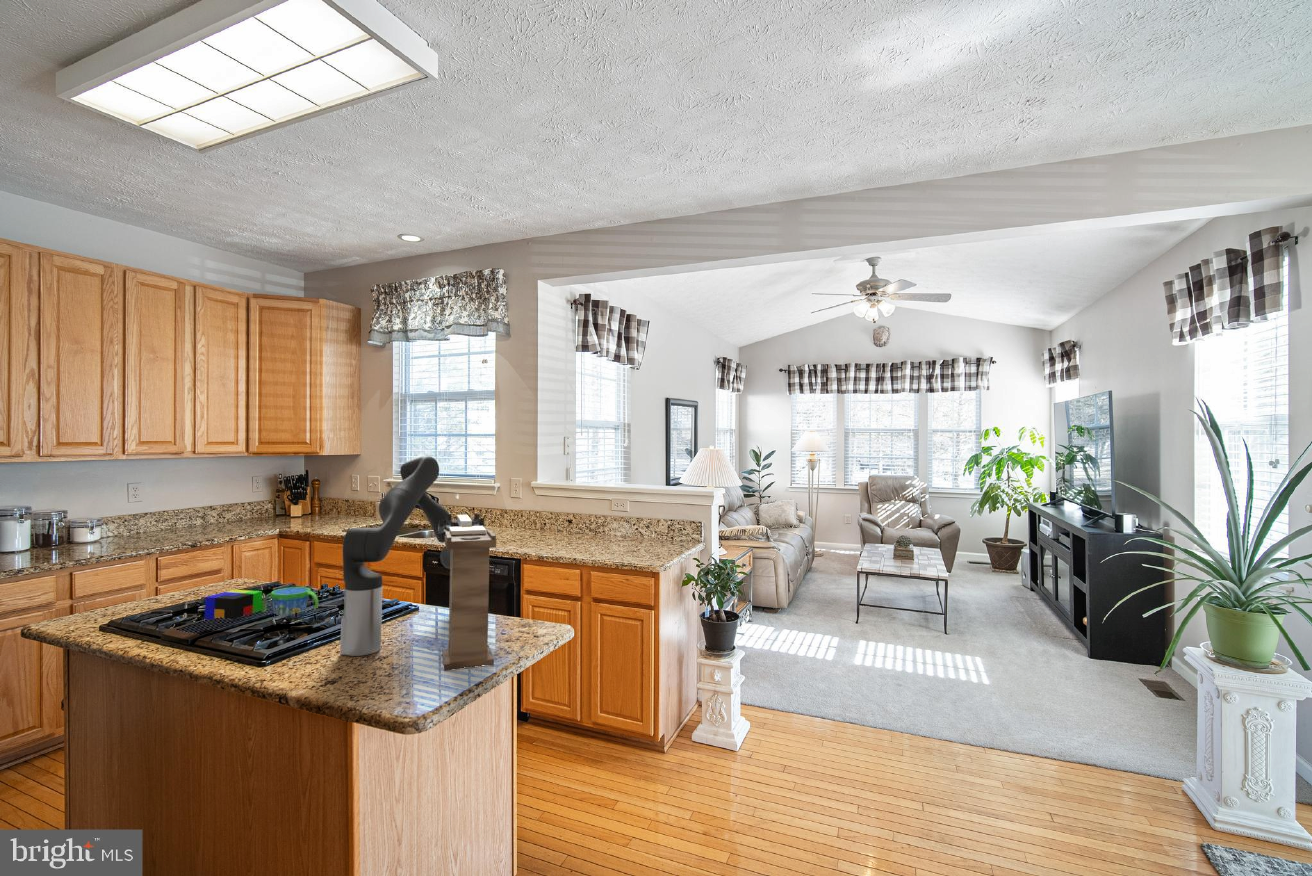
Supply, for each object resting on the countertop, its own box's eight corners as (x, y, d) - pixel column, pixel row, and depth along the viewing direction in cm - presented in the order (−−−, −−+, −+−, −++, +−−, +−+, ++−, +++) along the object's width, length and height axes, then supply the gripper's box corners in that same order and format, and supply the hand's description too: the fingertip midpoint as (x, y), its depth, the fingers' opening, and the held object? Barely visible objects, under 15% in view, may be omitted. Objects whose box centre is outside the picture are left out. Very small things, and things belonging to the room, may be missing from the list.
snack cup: (323, 618, 192) (324, 586, 192) (307, 627, 181) (308, 594, 181) (273, 618, 190) (274, 586, 191) (253, 628, 180) (254, 594, 180)
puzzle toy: (204, 630, 177) (205, 597, 177) (233, 621, 187) (234, 589, 187) (233, 632, 175) (234, 598, 176) (261, 623, 185) (262, 591, 186)
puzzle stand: (442, 655, 159) (444, 531, 160) (488, 650, 163) (490, 529, 164) (443, 670, 148) (446, 537, 148) (493, 664, 152) (496, 535, 153)
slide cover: (446, 523, 182) (446, 515, 182) (477, 522, 186) (477, 514, 186) (451, 534, 158) (451, 525, 158) (486, 533, 162) (486, 524, 162)
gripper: (436, 526, 192) (438, 505, 179) (482, 525, 197) (487, 504, 184) (436, 548, 188) (438, 528, 175) (483, 546, 193) (488, 526, 180)
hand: (463, 516), depth 180 cm, fingers open, 7 cm apart
